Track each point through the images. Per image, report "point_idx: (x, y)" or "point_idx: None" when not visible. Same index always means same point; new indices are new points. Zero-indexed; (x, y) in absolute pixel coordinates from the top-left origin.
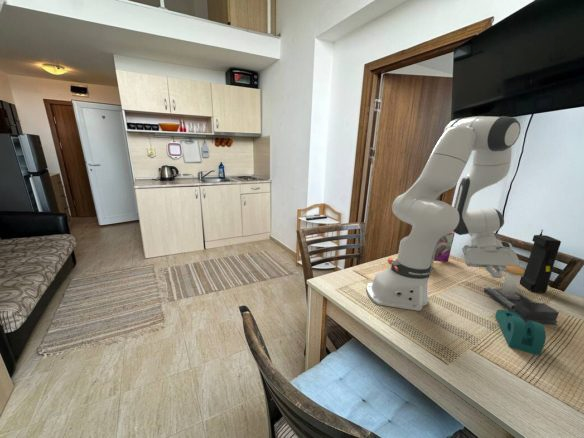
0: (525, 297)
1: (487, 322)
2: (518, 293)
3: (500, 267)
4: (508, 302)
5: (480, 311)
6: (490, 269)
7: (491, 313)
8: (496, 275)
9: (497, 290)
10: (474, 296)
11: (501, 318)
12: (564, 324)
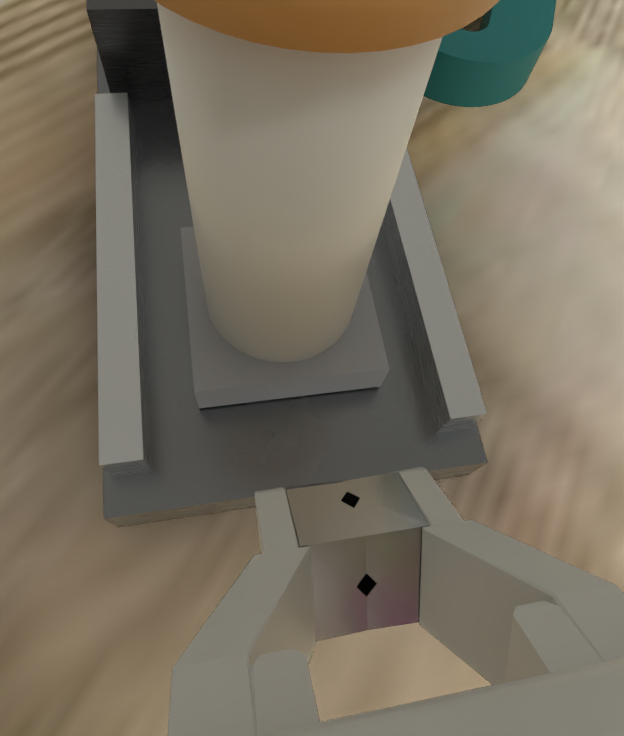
0: (113, 235)
1: (602, 26)
2: (130, 314)
3: (239, 692)
4: None
5: (615, 120)
6: (562, 579)
7: (539, 109)
8: (393, 478)
9: (382, 350)
10: (608, 332)
11: None
12: (22, 56)
